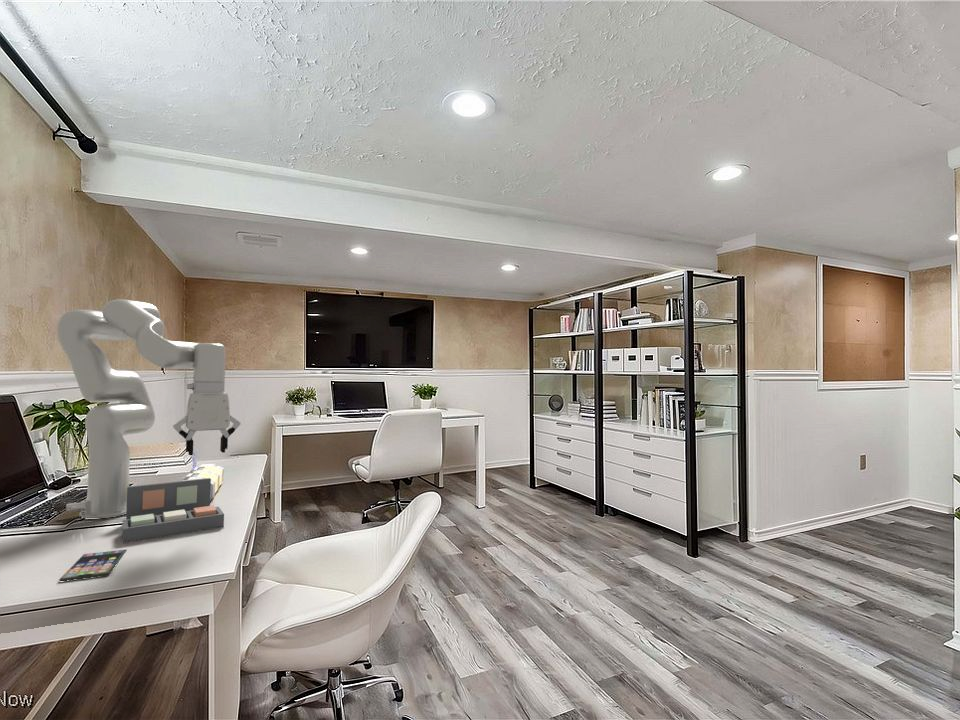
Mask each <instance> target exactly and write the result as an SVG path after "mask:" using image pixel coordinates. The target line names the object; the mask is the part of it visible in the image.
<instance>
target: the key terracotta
mask: <svg viewBox="0 0 960 720" xmlns="http://www.w3.org/2000/svg"><path fill="white" fill-rule="evenodd" d="M215 507H216V506H214V505H210V506H205V507H198V508H194V514H193V517H200V516H207V515H214V514H216V508H215Z"/></svg>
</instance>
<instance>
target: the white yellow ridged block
mask: <svg viewBox="0 0 960 720" xmlns="http://www.w3.org/2000/svg"><path fill="white" fill-rule="evenodd" d="M192 459H193V461H192V469H191V470H190V471H189V472H188V473H187V474H186V475H185V476H184V477H183V478H182V480H181V481H185V480H194V479H203V478H211V490H210V501H211V500H212V499H213V498H214V496H215V494H216V493H217V491H218V489H219V488H220V486H221V484H222V483H223V481H224V473H225V468H224V467H222V466H221V465H216V464H215V463H206V464H205V463H202V464H200V465H199V466H197V453H196V451H193V457H192ZM194 475H197V476H194Z"/></svg>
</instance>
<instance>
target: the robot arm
mask: <svg viewBox="0 0 960 720" xmlns="http://www.w3.org/2000/svg"><path fill="white" fill-rule="evenodd" d="M165 331H166V327H165V324H164V322H163V321H162V319H161V312H160V310H159V309H158V308H157V307H156V306H155V305H153V304H152V303H149V302H145V301H138V300H132V299H124V298H123V299H122V298H118V299H113V300H110V301H108V302H107V303H105V304H104V306H103V308H102V310H93V309H73V310H68V311H66V312H65V313H63V314H62V315H61V317H60V318H59V320H58V323H57V328H56V336H57V340H58V342H59V344H60V346H61V348H62V350H63V351H64V354H65V355H66V356H67V358H68V360H69V363H70V365H71V367H72V371H73V374H74V377H75V379H76V382H77V385H78V388H79V390H80V392H81V395H82V397H83V398H84V399H85V400H86V401H87V402H90V403H105V404H100V405H97V406H94V407H93V408H91V409H90V410H89V411H88V412H87V414H86V416H85V420H84V424H85V431H86V435H87V441H88V443H87V444H88V464H87V468H88V469H87V491H86V492H87V494H86V498H85V500H82V501H80V502H70V503H66V504H65V505H66V506H65V512H68V511H71V512H77V511H80V512H79V517H80V516H81V517H83V518H108V519H110V518H109V517H114V518H116V517H115V516H119V515H123V514H125V513H126V510H127V487H128V486H130V464H131V460H130V459H131V451H130V450H131V449H130V446H129V445H128V443H127V441H126V439H125V438H124V436H127V435H134V434H139V433H144V432H147V431H149V430H150V429H151V428H152V427H153V426H154V424H155V420H156V416H155V414H156V413H155V410H154V407H153V404H152V401H151V398H150V396H149V393H148V391H147V388H146V385H145V383H144V380H143V379H142V378H141V376H140V375H139V374H138V373H136V372H135V371H132V370H129V369H128V370H127V369H114V368H113V367H112V366H111V364H110V362H109V360H108V356H107V355H106V353H105V352H104V350H103V349H102V348H101V347H100V346H98V345H97V344H96V343H95V342H94V341H93V340H101V341H102V340H104V341H122V340H123V341H124V340H127V339H131V340H133V341H135V347H136V350H137V352H138V353H139V355H140V357H142V358H144V359H145V360H146V361H148V362H150V363H152V364H153V365H154V366H156V367H159V368H162V369H166V370H193V377H192V379H193V381H192V382H191V383H187V384H186V390H191V391H192V393H191V392H190V393H189V394H190V395H189V397H188V402H187V406H186V415H185V416H184V417H182V418H181V419H179V420H178V421H177V422H175V423H174V424H173V425H172V428H173V429H174V430H175V431H176V432H177V433H178V434H179V435H180V436H181V437H183V438H184V439H185V452H186V453H188V455H189V456H194V439H193V437H194V435H195V434H196V432H204V431H220V433H221V436H220V445H219V446H220V450H219V451H220V452H221V453H222V454H223V453H224V454H225V453H226V450H228V447H229V445H228V442H229V438H230V436H231V435H232V434H233V433H234V432H236V430H237V429H238V428H239V426H240V425H241V421H240V420H237V418H235V417H233V416H232V415H230V399H229V398H230V397H229V394H228V393H227V392H225V387H226V386H225V383H226V382H225V381H226V380H225V379H226V355H227V354H226V347H225V345H223V344H222V343H214V342H189V341H179V340H178V341H177V340H176V341H175V340H168V339H166V338H164V337H163V336H164V335H165V333H166V332H165ZM112 402H113V403H112ZM115 402H119V403H115ZM106 403H107V404H106ZM230 422H231V423H232V425H230V424H231V423H230ZM183 425H186V426H185V427H186V428H187V429H188V431H187V432H186V431H185V430H184V429H182V426H183ZM230 426H231V427H230ZM123 516H124V515H123ZM119 517H120V516H119Z"/></svg>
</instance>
